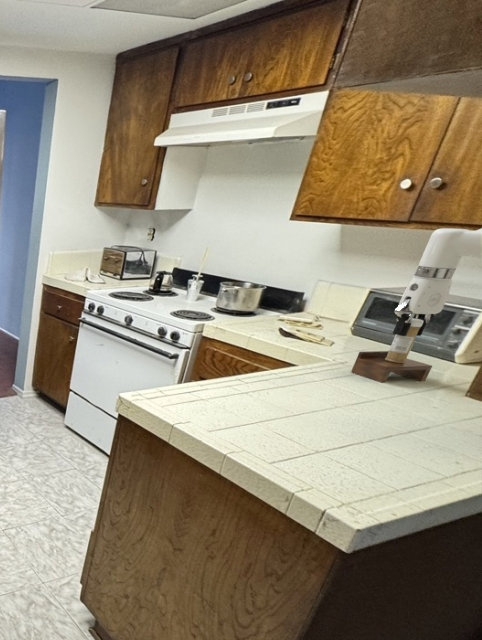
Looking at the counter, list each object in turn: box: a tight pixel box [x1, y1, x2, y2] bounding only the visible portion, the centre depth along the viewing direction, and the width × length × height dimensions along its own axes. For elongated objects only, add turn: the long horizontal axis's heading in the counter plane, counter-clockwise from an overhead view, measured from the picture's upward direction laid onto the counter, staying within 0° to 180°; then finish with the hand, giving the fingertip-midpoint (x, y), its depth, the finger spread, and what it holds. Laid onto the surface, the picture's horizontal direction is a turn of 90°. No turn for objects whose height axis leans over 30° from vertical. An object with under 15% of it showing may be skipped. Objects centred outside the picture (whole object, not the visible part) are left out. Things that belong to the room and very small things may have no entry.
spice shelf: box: [350, 350, 433, 383], centre depth 146 cm, size 9×16×7 cm, turn 98°
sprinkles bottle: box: [385, 317, 424, 363], centre depth 143 cm, size 5×5×13 cm
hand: (406, 334), depth 142 cm, fingers closed on sprinkles bottle, 4 cm apart
